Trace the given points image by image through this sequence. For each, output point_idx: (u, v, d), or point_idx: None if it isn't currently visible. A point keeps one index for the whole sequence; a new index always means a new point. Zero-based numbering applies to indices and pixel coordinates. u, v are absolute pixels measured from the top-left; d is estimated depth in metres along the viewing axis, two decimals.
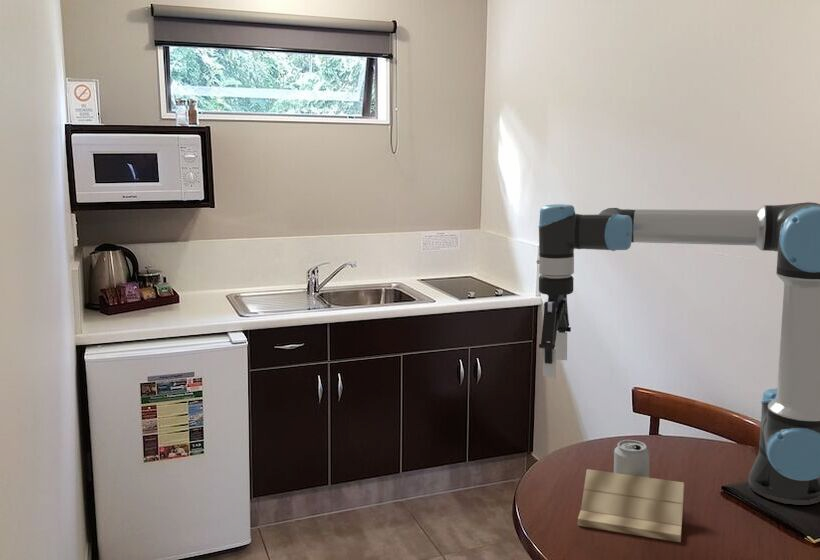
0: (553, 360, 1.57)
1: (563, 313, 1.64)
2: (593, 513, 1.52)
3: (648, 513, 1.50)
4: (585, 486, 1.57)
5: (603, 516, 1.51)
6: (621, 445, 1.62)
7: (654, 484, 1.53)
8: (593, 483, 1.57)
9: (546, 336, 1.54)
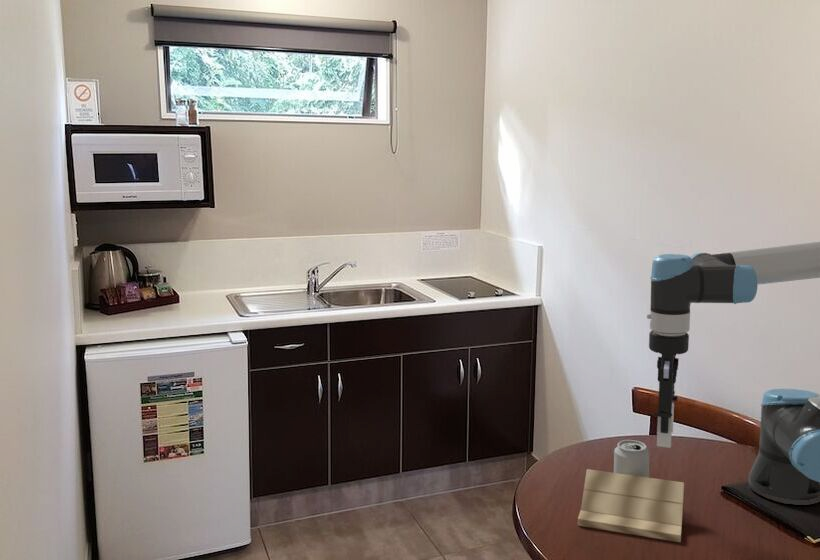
0: (669, 429, 1.45)
1: None
2: (593, 513, 1.52)
3: (648, 513, 1.50)
4: (585, 486, 1.57)
5: (603, 516, 1.51)
6: (621, 445, 1.62)
7: (654, 484, 1.53)
8: (593, 483, 1.57)
9: (663, 405, 1.42)
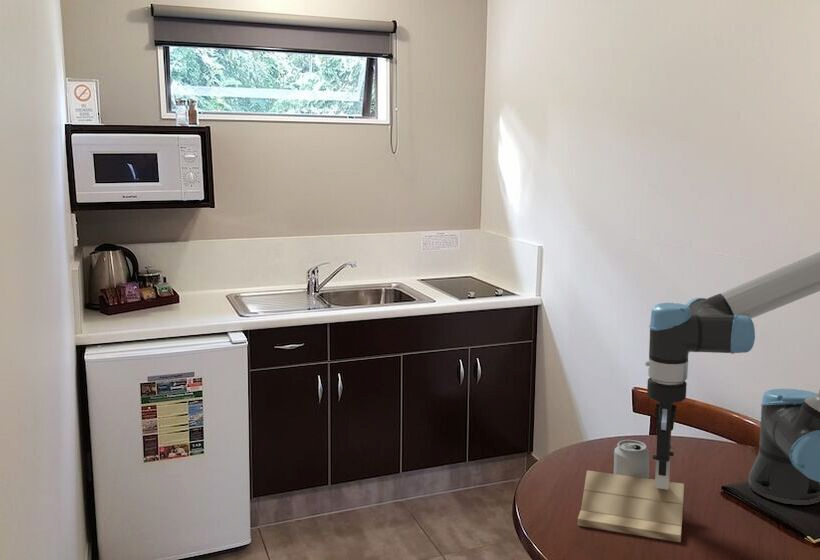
0: (667, 472, 1.51)
1: None
2: (593, 513, 1.52)
3: (648, 513, 1.50)
4: (585, 487, 1.57)
5: (603, 516, 1.51)
6: (621, 445, 1.62)
7: (654, 485, 1.54)
8: (593, 484, 1.57)
9: (661, 452, 1.47)
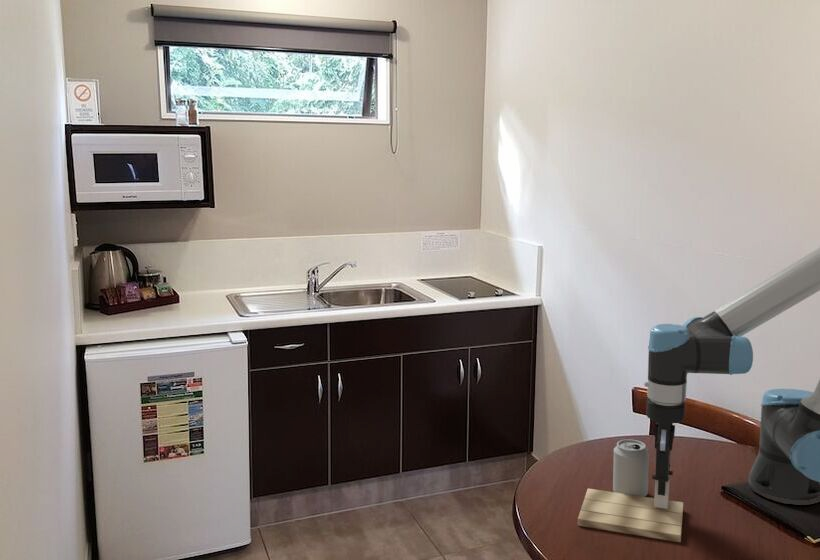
0: (666, 491, 1.52)
1: (670, 443, 1.51)
2: (593, 513, 1.52)
3: (648, 516, 1.50)
4: (586, 497, 1.59)
5: (603, 516, 1.51)
6: (620, 445, 1.62)
7: None
8: (594, 496, 1.59)
9: (660, 472, 1.48)
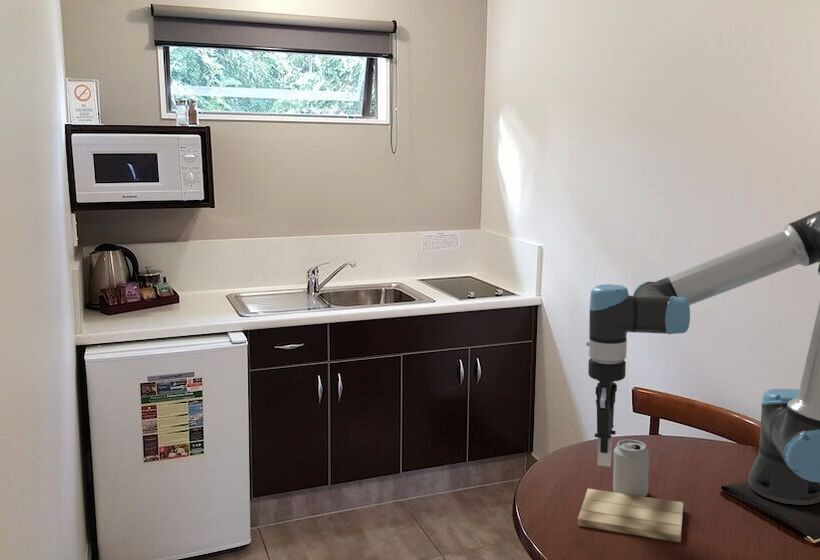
0: (608, 449, 1.55)
1: None
2: (593, 513, 1.52)
3: (648, 516, 1.50)
4: (586, 497, 1.59)
5: (603, 516, 1.51)
6: (621, 445, 1.62)
7: (654, 501, 1.56)
8: (594, 496, 1.59)
9: (602, 430, 1.51)
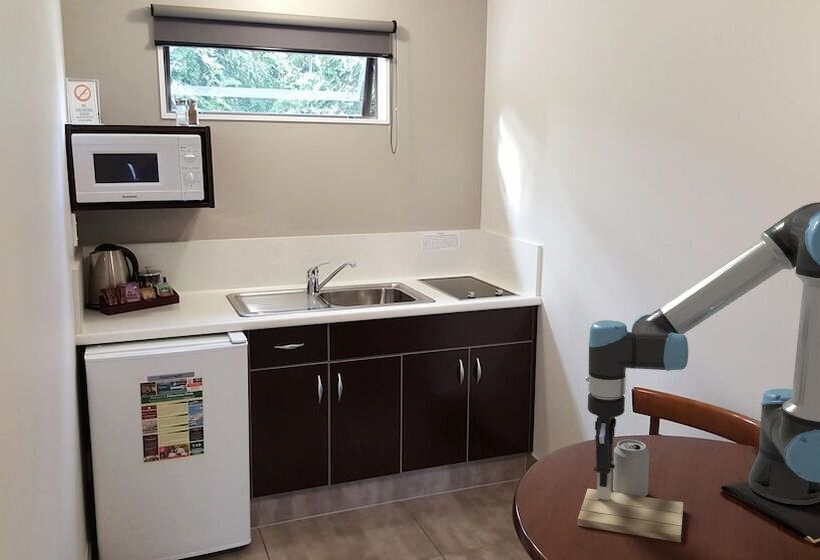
0: (608, 483, 1.56)
1: None
2: (593, 513, 1.52)
3: (648, 516, 1.50)
4: (586, 497, 1.59)
5: (603, 516, 1.51)
6: (621, 445, 1.62)
7: (654, 501, 1.56)
8: (594, 496, 1.59)
9: (601, 465, 1.52)
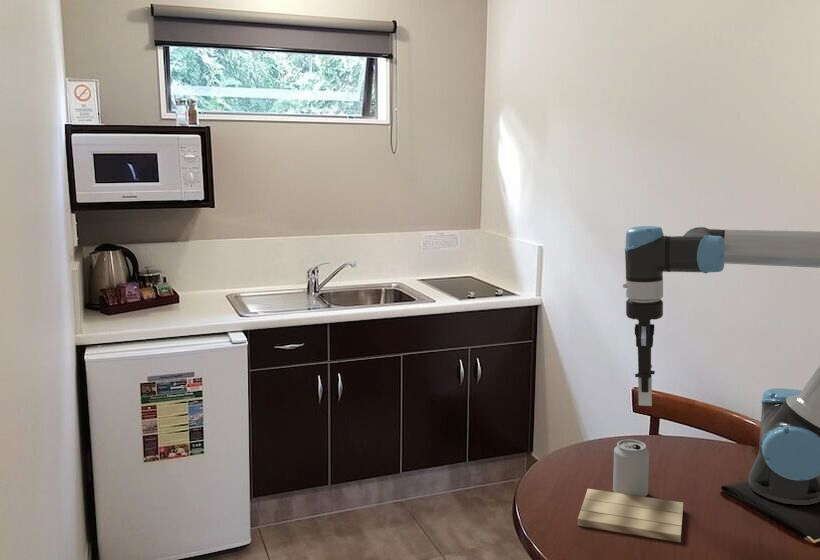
0: (649, 388, 1.58)
1: None
2: (593, 513, 1.52)
3: (648, 516, 1.50)
4: (586, 497, 1.59)
5: (603, 516, 1.51)
6: (621, 445, 1.62)
7: (654, 501, 1.56)
8: (594, 496, 1.59)
9: (643, 368, 1.54)
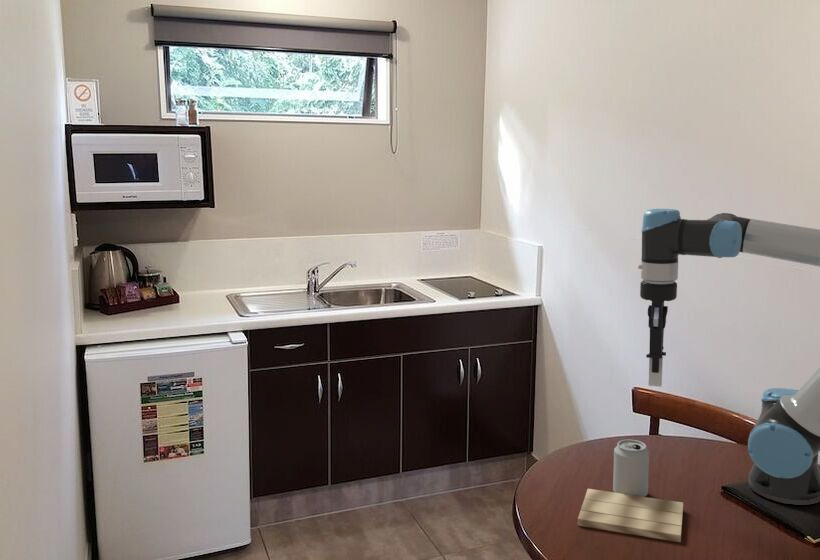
0: (660, 369, 1.60)
1: (663, 323, 1.59)
2: (593, 513, 1.52)
3: (648, 516, 1.50)
4: (586, 497, 1.59)
5: (603, 516, 1.51)
6: (621, 445, 1.62)
7: (654, 501, 1.56)
8: (594, 496, 1.59)
9: (654, 349, 1.56)
